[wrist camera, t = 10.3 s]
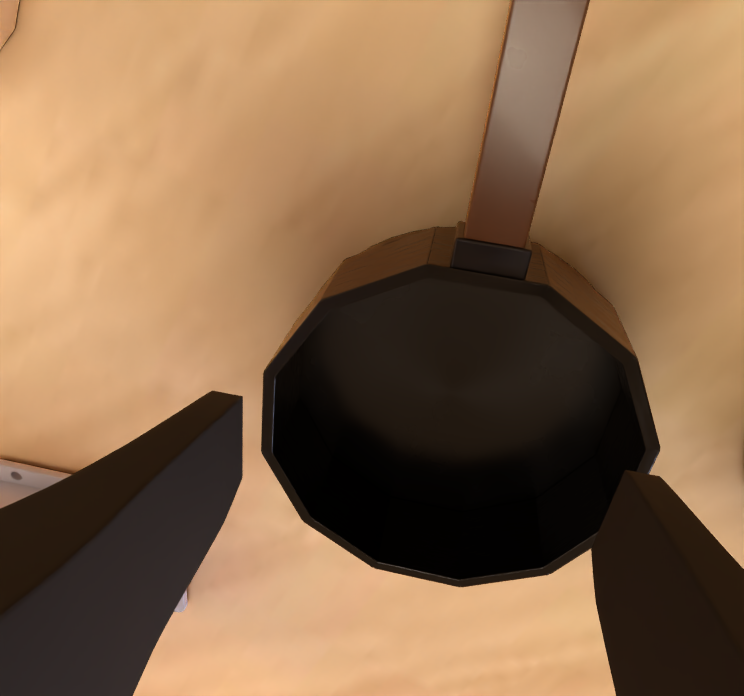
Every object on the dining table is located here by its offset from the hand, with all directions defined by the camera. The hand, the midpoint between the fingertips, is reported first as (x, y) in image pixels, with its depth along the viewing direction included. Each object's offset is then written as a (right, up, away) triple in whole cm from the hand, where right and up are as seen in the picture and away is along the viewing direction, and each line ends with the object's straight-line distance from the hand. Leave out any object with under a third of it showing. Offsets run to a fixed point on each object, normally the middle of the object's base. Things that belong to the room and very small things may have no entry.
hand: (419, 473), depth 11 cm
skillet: (+3, +5, +9) cm, 10 cm away
